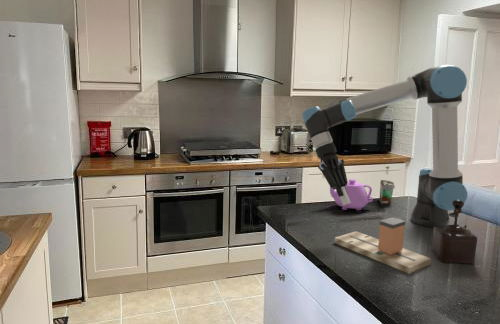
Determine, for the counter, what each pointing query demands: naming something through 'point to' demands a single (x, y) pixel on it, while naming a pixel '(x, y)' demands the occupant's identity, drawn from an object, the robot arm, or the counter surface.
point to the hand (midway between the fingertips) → (346, 203)
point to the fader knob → (391, 235)
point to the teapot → (353, 195)
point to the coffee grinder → (454, 241)
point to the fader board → (369, 248)
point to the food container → (386, 191)
